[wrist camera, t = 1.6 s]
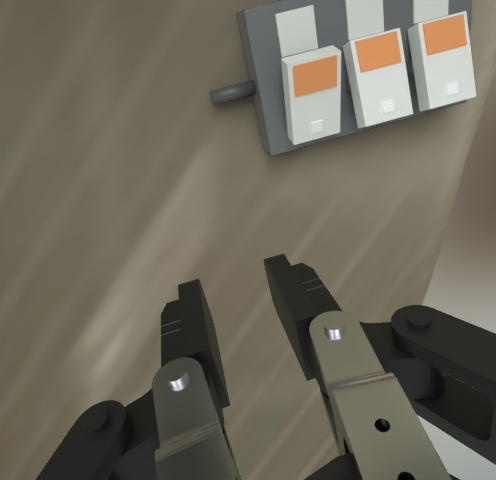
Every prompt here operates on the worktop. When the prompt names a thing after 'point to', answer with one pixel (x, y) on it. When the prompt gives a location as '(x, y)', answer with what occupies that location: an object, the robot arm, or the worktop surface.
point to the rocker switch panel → (315, 37)
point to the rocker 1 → (312, 93)
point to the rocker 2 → (442, 61)
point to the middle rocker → (378, 78)
